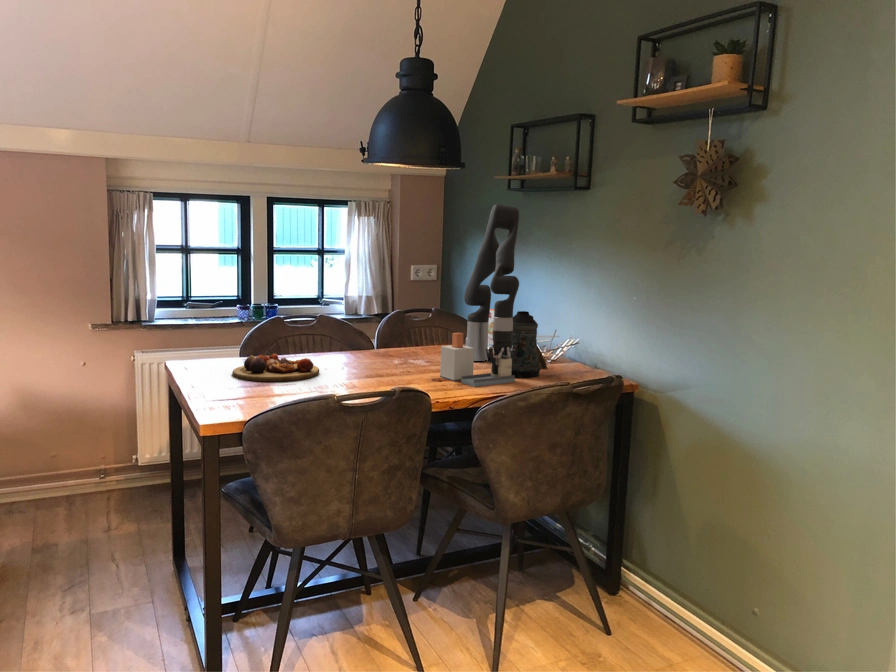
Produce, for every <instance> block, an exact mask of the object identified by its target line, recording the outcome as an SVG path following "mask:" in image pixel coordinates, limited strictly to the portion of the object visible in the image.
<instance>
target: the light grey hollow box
mask: <svg viewBox="0 0 896 672" xmlns="http://www.w3.org/2000/svg"><path fill="white" fill-rule="evenodd" d="M439 370H440V371H439V378H442V379H445V380H448V381H452V382H459V381H460V382H461V380H462V376H468V375H474V348H472V347H468V346H466V345H464V344H463V348H454V347H452V344H451V345H449V344H448V345H441V346H440V369H439Z"/></svg>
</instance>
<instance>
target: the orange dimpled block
mask: <svg viewBox="0 0 896 672" xmlns="http://www.w3.org/2000/svg"><path fill="white" fill-rule="evenodd" d="M451 337H452V340H451V345H452V347H454V348H463V345H464V333H463V332H452V336H451Z"/></svg>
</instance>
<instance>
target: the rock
mask: <svg viewBox="0 0 896 672" xmlns="http://www.w3.org/2000/svg"><path fill="white" fill-rule="evenodd" d="M540 349H541V348H539V346H538V345H537V353H538V361H539V365H540V368H541V369H542V370H544V369H548V365H547V362H546V361H547V360H546V359H545V357H544V356H543V354H542V351H541V350H540ZM541 369H540V370H541Z"/></svg>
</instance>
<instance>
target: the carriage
mask: <svg viewBox="0 0 896 672" xmlns="http://www.w3.org/2000/svg"><path fill="white" fill-rule="evenodd" d="M496 356H497V355H496ZM495 361H496V358H495ZM490 365H491V367H490V373H491V376H495V377H502V376H511V370H512V359H511V358H508V357H505V356H501V358H500V359H499V361H498V364H497V365H498V374H497V375H495V374H493V373H492V363H490Z"/></svg>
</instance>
